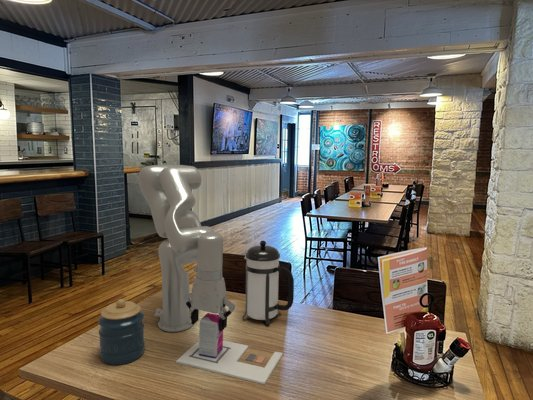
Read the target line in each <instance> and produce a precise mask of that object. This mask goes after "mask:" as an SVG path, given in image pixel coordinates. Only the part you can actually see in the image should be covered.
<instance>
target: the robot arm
mask: <svg viewBox="0 0 533 400" xmlns="http://www.w3.org/2000/svg"><path fill="white" fill-rule="evenodd" d="M201 185H202V174H201V172H200V171H199V169H198V168H197V167H195V166H193V165H185V164H153V165H147V166H144V167H142V168H141V169H140V170H139V172H138V186H139V189H140V192H141V194H142V196H143V197H144V199H145V202H146V203H147V205H148V207H149V209H150V214H151V217H152V219H153V223H154V228H155V231H156V234H158V236H159V237H161V238H164V239H165V238H166V240H164V241H162V242H161V243H160V244H159V246H158V249H157V250H158V257H159V263H160V268H161V271H160V272H161V298H162V299H161V301H162V302H161V303H162V308H159V307H158V308H156V309H155V313H154V317H156V318H157V317H158V318H159V320H158V323H157V324H158V328H159V329H160V330H162V331H165V332H168V333H169V332H170V333H176V332H179V333H180V332H183V331H186V330H188V329H190V328H192V327H193V326H194V325H195V324H196V323H197V322H198V321H199V320H200V319H199V318H200V317H199V311H201V312H202V311H203V312H206V313H211V314H217V315H220V317H221V318H220V320H219V331H223V332H224V330H225V329H226V328H227V326H228V325H227V324H228V317H229V316H230V315H231V314H232V313H233V312H234V310H235V309H236V307H237V306H236V305H235V303H233V302H232V301H230V300H229V299H228V298H227V288H226V282H225V278H224V277H223V262H224V259H223V257H224V256H223V253H224V238H223V235H222V234H221V233H220V232H216V230H214V229H213V228H212V227H211V226H209V225H202V224H201V220H200V218H199V216H198V215H197V213H196V212H194V210H192V208H193V207H194V206H195V205H196V198H195V196H194V192H193V191H192V190H197V189H199V188H200V187H201ZM161 188H162V189H161ZM192 263H196V266H194V268H193V272H196V275H195V276H193V283H192V287H191V292H190V275H189V273H188V272H187V270H186V269H185V268H184V267H183V266H184V265H188V264H192ZM226 307H228V310H227V309H226Z"/></svg>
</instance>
